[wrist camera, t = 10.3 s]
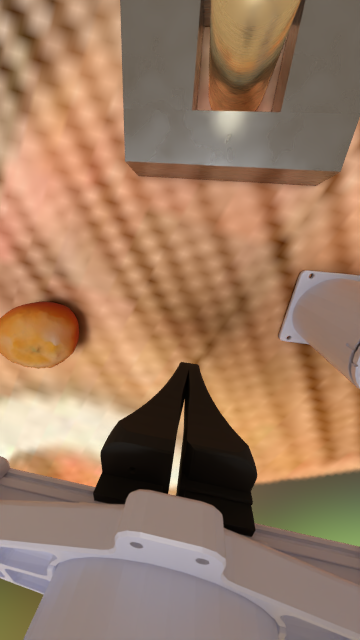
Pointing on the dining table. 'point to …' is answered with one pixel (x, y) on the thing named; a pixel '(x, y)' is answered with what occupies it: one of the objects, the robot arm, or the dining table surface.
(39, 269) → the dining table surface
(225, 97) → the bushing
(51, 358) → the fruit
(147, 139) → the jig
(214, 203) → the dining table surface
